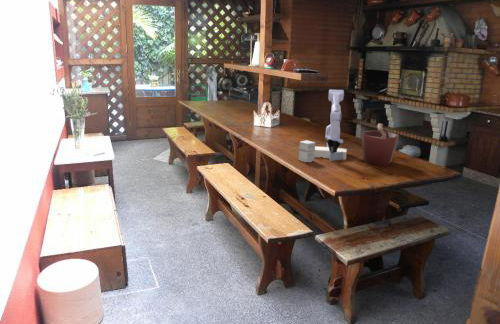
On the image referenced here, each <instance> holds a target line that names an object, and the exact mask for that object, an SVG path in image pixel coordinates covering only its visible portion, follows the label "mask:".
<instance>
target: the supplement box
mask: <svg viewBox="0 0 500 324" xmlns="http://www.w3.org/2000/svg"><path fill="white" fill-rule="evenodd" d="M315 146H316V142H315V141H311V140H306V139H305V140H301V141H299V148H298V149H299V150H298V151H299V153H298V161H299V160H300V162H303V163H306V162H309V163H312V161H313V162H315V157H314V155H315Z"/></svg>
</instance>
